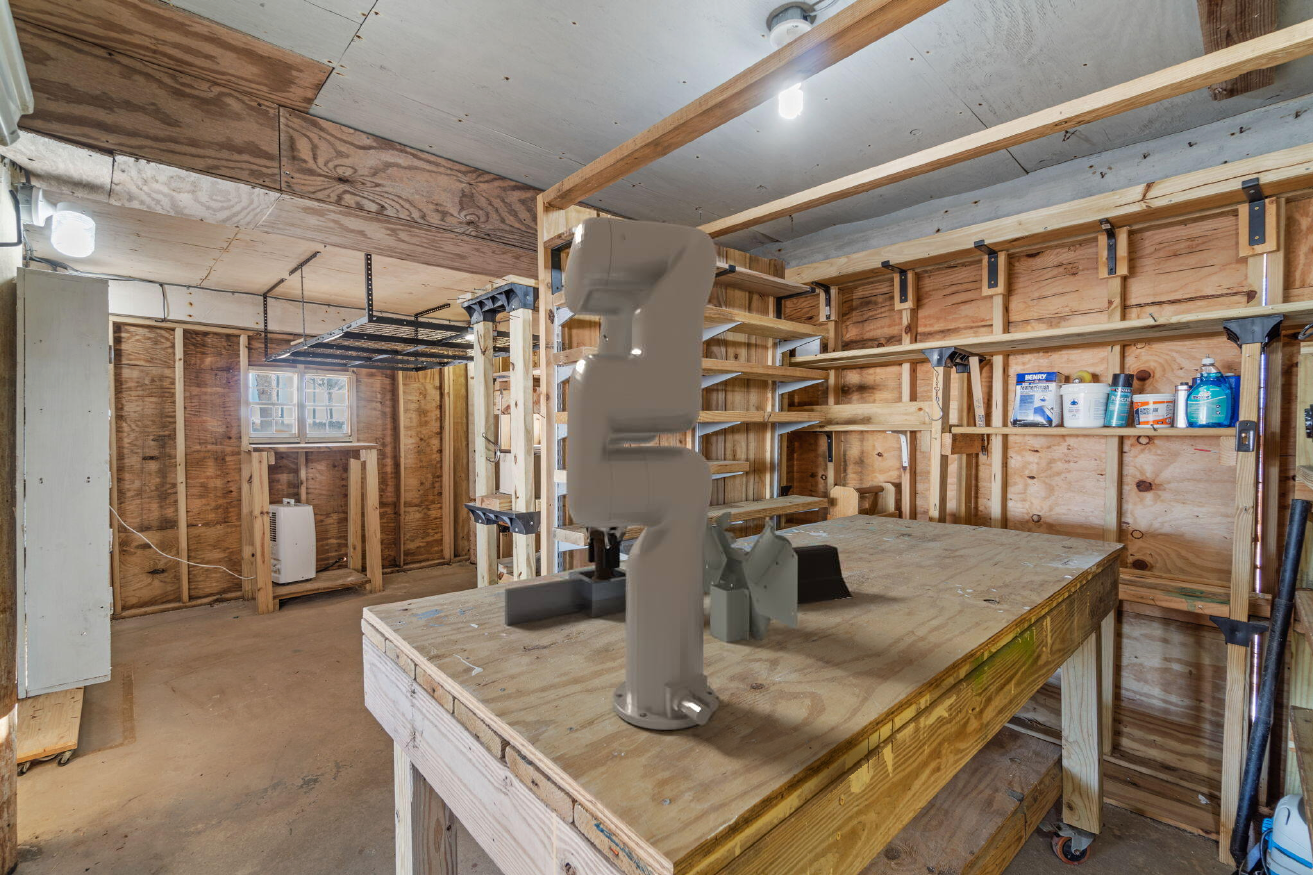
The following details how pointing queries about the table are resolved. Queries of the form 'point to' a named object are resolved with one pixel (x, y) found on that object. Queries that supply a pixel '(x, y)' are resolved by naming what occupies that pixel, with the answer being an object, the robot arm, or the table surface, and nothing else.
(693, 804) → the table surface
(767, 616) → the bracket
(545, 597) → the grey square socket holder
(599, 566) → the bolt
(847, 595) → the barrier
